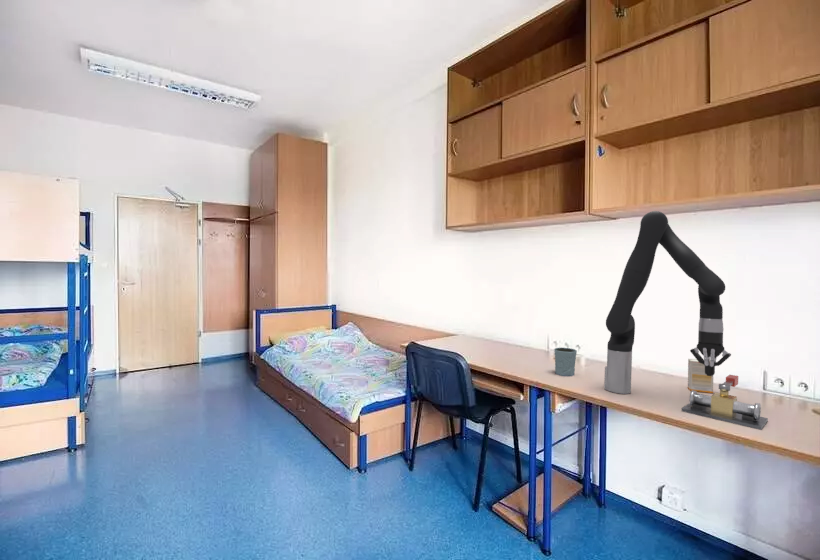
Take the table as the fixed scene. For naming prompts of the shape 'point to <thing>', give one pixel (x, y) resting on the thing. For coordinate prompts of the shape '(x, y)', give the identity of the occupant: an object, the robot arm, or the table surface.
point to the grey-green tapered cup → (565, 361)
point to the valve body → (725, 409)
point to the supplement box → (698, 377)
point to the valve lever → (729, 383)
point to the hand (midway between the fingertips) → (709, 375)
